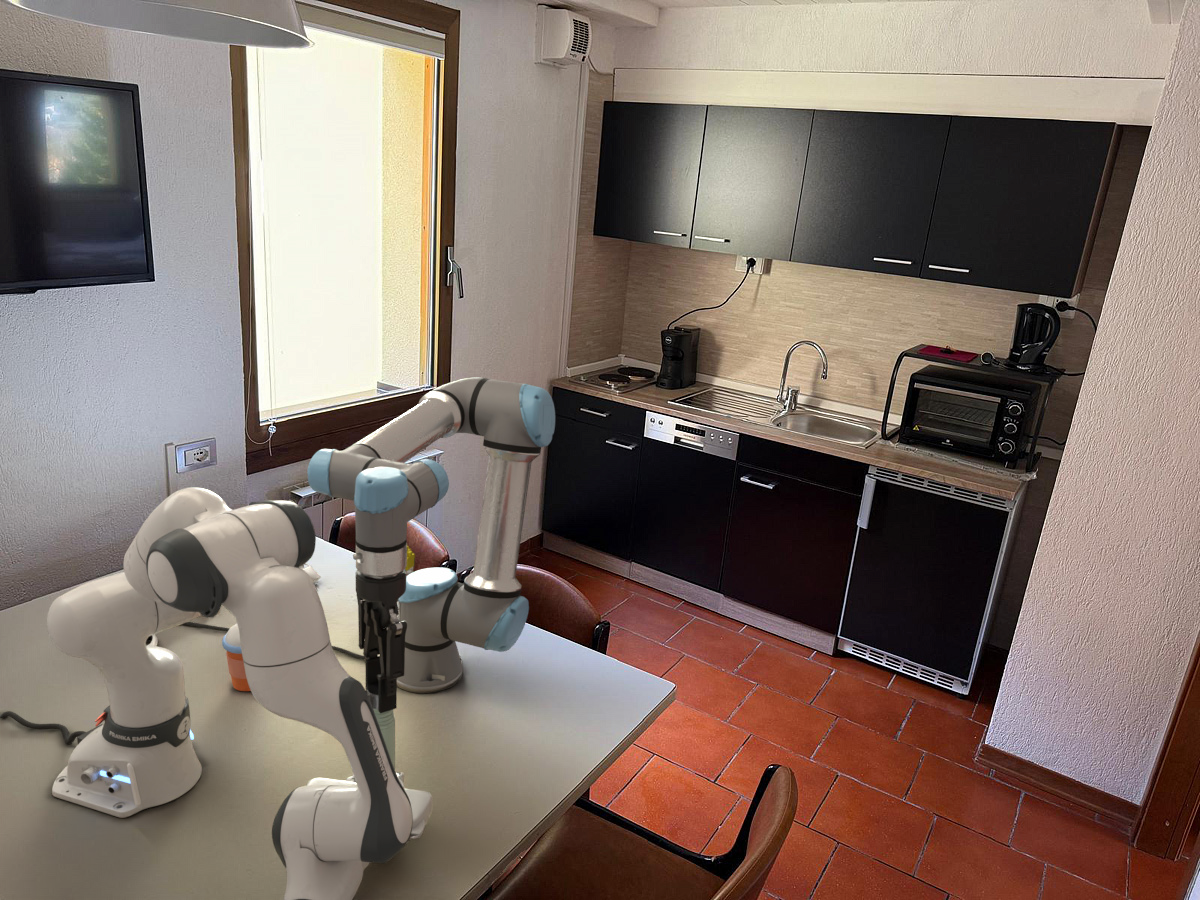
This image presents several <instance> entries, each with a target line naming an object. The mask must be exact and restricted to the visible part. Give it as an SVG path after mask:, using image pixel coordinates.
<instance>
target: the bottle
mask: <svg viewBox="0 0 1200 900" xmlns="http://www.w3.org/2000/svg"><path fill="white" fill-rule="evenodd" d="M373 710H374V713H375V715H376V718H377V721H378V724H379V726H380V729H381V732H382V735H383V738H384V741H385V744H386V746H387V749H388V752H389V755H390V758H391V761H392V764H393V767H394V769H395V770H396V715H395V712H394V709H393V710H390V711H387V712H384V713H380V712H379V711H378V709H373Z"/></svg>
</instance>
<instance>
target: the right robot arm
mask: <svg viewBox="0 0 1200 900" xmlns="http://www.w3.org/2000/svg"><path fill="white" fill-rule="evenodd" d="M555 428H556V409H555V403H554V401H553V398H552V396H551V394H550V392H549V391H548V390H546V389H545V388H543V387H540V386H535V385H532V384H528V383H519V382H512V381H505V380H498V379H494V378H493V379H492V378H491V379H490V378H486V377H480V376H479V377H478V376H476V377H466V378H461V379H457V380H453V381H450V382H448V383H445V384H442V385H440V386H438V387H436V388H434V389H432V390H430V391H429V392H427V393H425V394H424V395H422V397H421V398H420V399H419V401H418V403H417V405H415V406H414V407H412V408H411V409H408V410H407V411H406V412H404V413H402V414H401V415H399V416H397V417H396V418H394V419H393V420H391V421H389V422H388V423H386V424H385V425H383V426H381V427H379V428H378V429H376V430H375V431H373V432H371V433H369V434H368V435H367V436H364V437H363V438H362V439H360V440H359V441H357V442H355V443H353V444H352V445H350V446H348V447H346V448H345V449H343V450H338V449H337V448H332V449H331V448H321V449H319V450H317V451H316V452H315V453H314V454H313V455H312V457H311V458H310V461H309V463H308V466H307V470H306V471H307V472H306V474H307V482H308V486H309V487H310V488H311V490H312V491H314V492H316V493H318V494H322V495H325V496H329V497H330V498H338V499H343V500H349V501H353V505H354V519H355V520H354V522H355V538H354V539H355V553H353V554H352V558H353V560H354V561H355V568H356V571H355V593H356V601H357V614H358V615H357V617H358V621H357V623H358V648H359V649H360V650H363V651H362V652H363V653H362V654H363V655H362V654H358V653H355V652H352V651H349V650H347V649H345V648H341V647H338V646H335V645H332V649H333V651H336V652H338V653H342V654H344V655H347V656H350V657H352V658H354V659H358V660H364V661H365V691H366V692H367V686H368V685H369V684H370V683H372V682H374V681H378V711H379V712H380V713H384V712H387V711H390V710H393V711H394V710H395V709H397V708H398V707H397V706H398V705H397V702H398V700H397V696H398V695H397V694H398V693H397V692H398V691H397V690H398V688H399V689H401V690H404V691H407V692H410V693H416V694H430V693H431V694H432V693H438V692H441V691H445V690H447V689H450V688H451V687H453V686H455V685H456V684H457V683H458V682H459V681H460V680H461V679H462V676H463V672H464V664H463V660H462V657H461V656H460V653H459V649H458V646H457V643H461V644H465V645H469V646H473V647H477V648H479V649H484V650H485V651H495V652H500V653H503V652H507V651H509V650H510V649H511V648H513V647H514V646H515V644H516V643H517V641H518V640H519V638H520V636H521V635H522V632H523V630H524V628H525V626H526V623H527V619H528V615H529V610H530V606H529V605H530V603H529V600H528V599H527V598H526V597H525V596H523V595H521V593H522V584H521V582H520V581H519V580H518V579H517V577H516V576H517V569H518V562H519V554H520V547H521V540H522V532H523V526H524V517H525V511H526V505H527V498H528V497H527V496H528V491H529V484H530V477H531V469H532V462H533V461H534V460H535V459H537V458H538V457H539V456H540V455H541V451H542V448H545V447H547V446H549V445H550V444H551V442H552V440H553V435H554V433H555ZM455 434H469V435H475V436H481V437H483V442H482V448H483V449H484V451H485V452H486V453H487V455H488V462H487V469H486V475H485V482H484V483H485V484H484V491H483V499H482V506H481V511H480V512H481V513H480V520H479V528H478V534H477V541H476V548H475V557H474V564H473V570H472V572H471V573H470V574H468V575H467V576H466V577H465V578H464V580H463V581H464V582H463V583H462V582H458V580H459V579H458V575H457V573H456V572H455V571H454V570H453V569H450V568H448V567H427V568H421V569H418V570H416V571H413V573H411V574H409V575H407V576H406V569H405V568H406V566H407V544H408V541H407V540H408V538H407V534H408V522H410V521H412V520H414V519H415V518H417V517H418V516H419V515H421V514H422V513H424V512H426V511H427V510H429V509H433V508H434V507H435V506H436V505H437V504H438V503H439V502H440V501H441V500H442V499H444V498H445V496H446V495H447V493H448V491H449V488H450V487H449V486H450V481H449V475H448V473H447V471H446V469H445V468H444V467H443V466H442V465H441V464H440V463H439V462H437V461H435V460H433V459H428V458H425V459H420V460H415V461H413V462H411V463H407V462H408V461H410V460H411V459H412V458H414V457H415V456H417V455H418V454H420V453H421V452H422V451H424V450H426V448H428V447H429V446H430V445H432V444H433V443H435V442H437V441H438V440H439V439H446V438H451V437H452V436H454V435H455ZM182 625H185V626H190V627H197V628H201V629H202V628H204V629H207V630H213V631H220V632H226V633H227V632H228V630H229V629H230V628H231V627H223V626H217V625H211V624H205V623H199V622H194V623H193V621H189V622H186V623H183V624H182Z"/></svg>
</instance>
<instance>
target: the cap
mask: <svg viewBox="0 0 1200 900" xmlns="http://www.w3.org/2000/svg"><path fill="white" fill-rule="evenodd" d="M366 693H367V695H368V697H369V700H370V702H371V705H372V707H373V709H378V681H374V682H372V683H370V684H369V685H368V686H367V692H366Z"/></svg>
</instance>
